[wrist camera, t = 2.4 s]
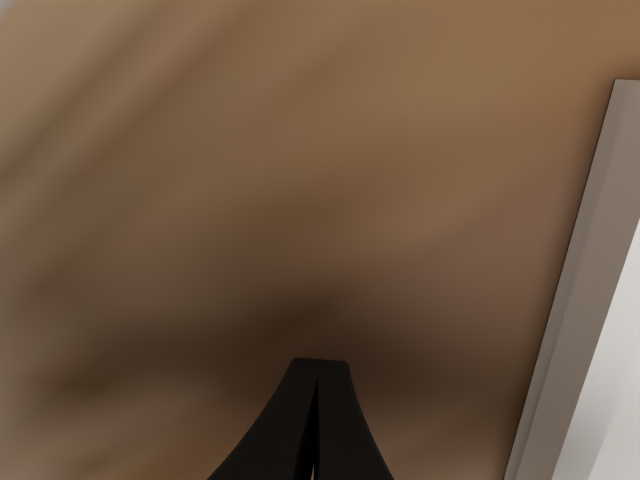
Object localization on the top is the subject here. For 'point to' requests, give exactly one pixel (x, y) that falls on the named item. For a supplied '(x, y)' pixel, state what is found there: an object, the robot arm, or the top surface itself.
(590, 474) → the tray
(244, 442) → the robot arm
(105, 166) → the top surface
